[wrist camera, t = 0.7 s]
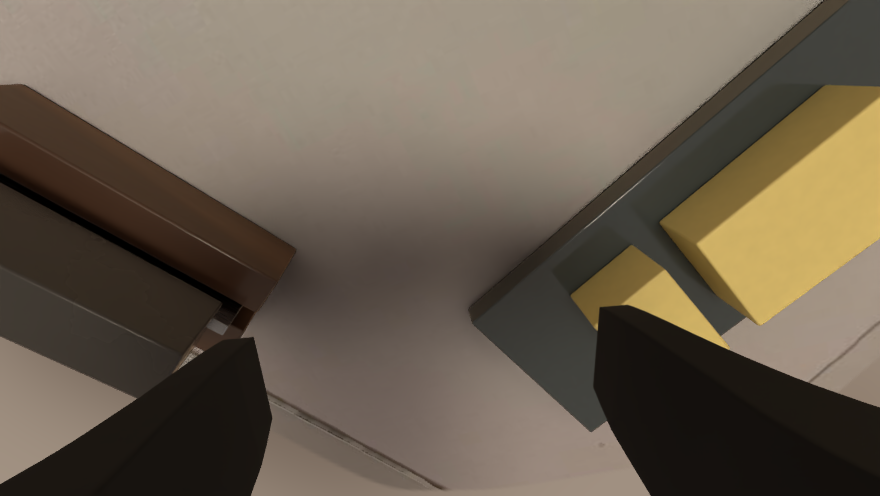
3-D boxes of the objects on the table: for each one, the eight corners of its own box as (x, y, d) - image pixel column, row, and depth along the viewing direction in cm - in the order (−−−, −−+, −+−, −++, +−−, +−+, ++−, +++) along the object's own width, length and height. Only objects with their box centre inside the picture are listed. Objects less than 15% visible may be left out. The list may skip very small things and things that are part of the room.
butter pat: (632, 361, 19) (662, 399, 17) (569, 295, 18) (593, 327, 16) (691, 315, 19) (731, 348, 16) (631, 243, 17) (665, 269, 15)
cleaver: (250, 294, 18) (169, 415, 12) (8, 160, 16) (-259, 221, 9) (273, 259, 18) (202, 365, 11) (28, 115, 15) (-239, 147, 9)
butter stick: (716, 296, 18) (760, 327, 16) (657, 222, 17) (696, 244, 15) (874, 175, 17) (946, 190, 15) (825, 83, 16) (895, 85, 13)
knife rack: (250, 317, 18) (223, 361, 16) (-18, 173, 16) (-108, 195, 13) (297, 248, 18) (277, 282, 15) (22, 82, 15) (-66, 85, 12)
